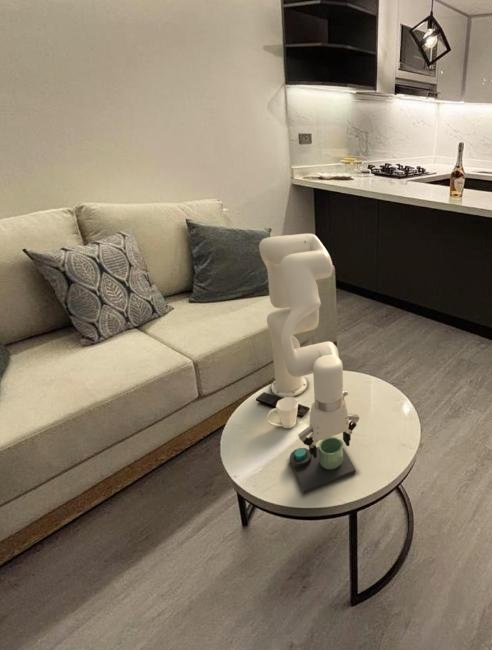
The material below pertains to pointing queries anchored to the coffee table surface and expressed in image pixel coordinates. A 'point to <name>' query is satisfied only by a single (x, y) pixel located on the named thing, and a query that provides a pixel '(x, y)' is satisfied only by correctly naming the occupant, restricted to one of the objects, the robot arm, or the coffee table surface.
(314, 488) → the scale
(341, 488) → the coffee table surface
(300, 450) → the tare button
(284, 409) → the cup
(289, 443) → the coffee table surface
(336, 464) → the green handleless cup
